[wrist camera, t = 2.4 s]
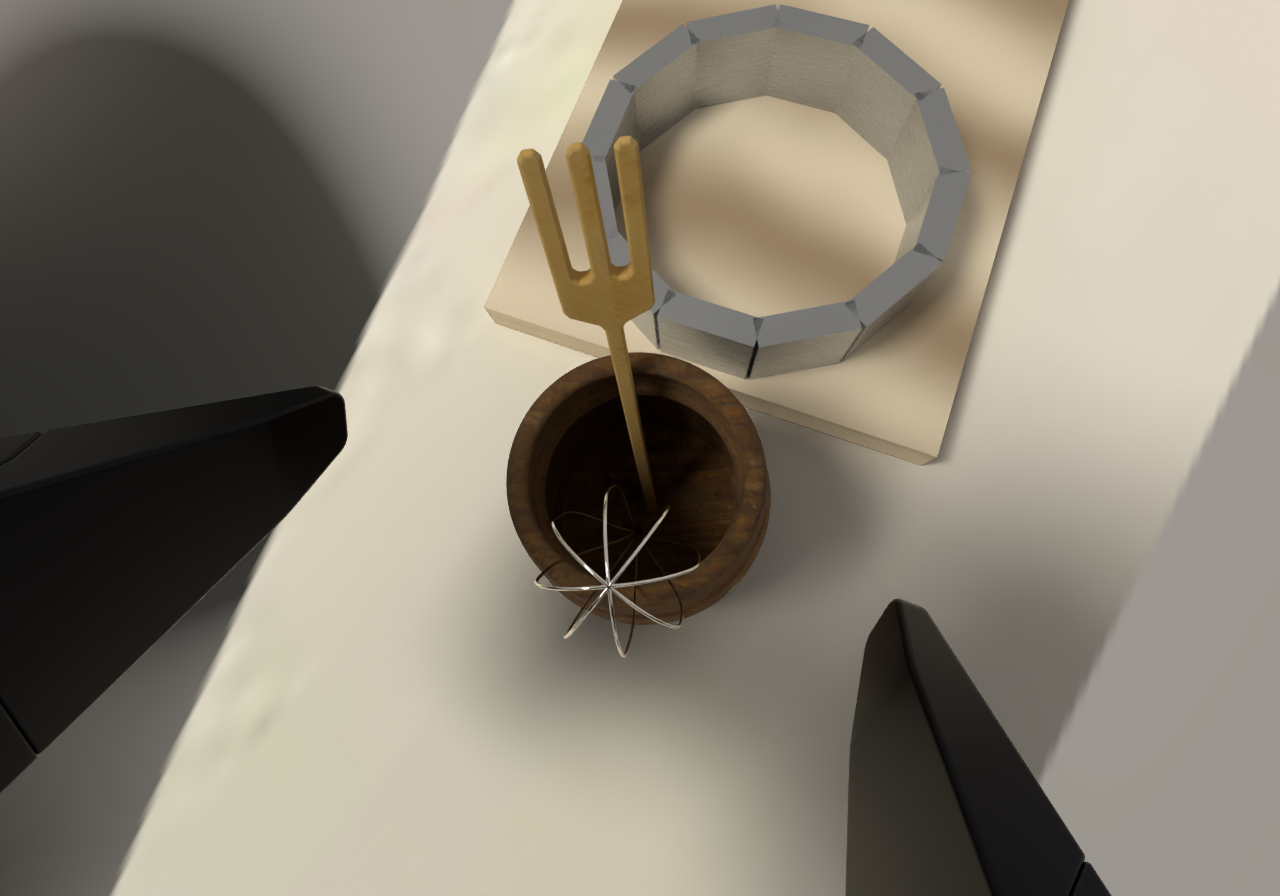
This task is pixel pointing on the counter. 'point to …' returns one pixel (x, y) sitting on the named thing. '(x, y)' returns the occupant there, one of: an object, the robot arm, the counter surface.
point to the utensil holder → (630, 439)
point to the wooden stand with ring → (804, 197)
